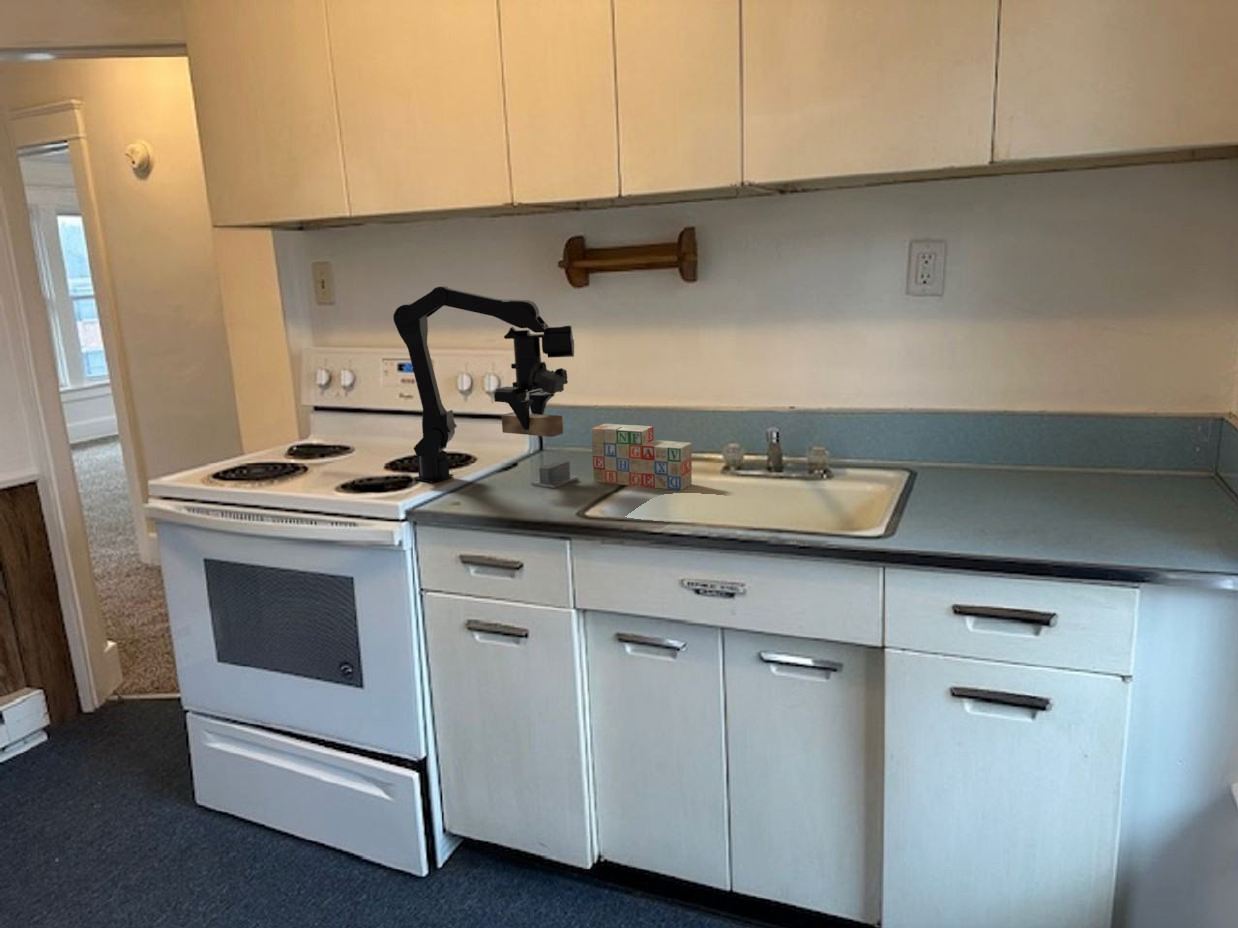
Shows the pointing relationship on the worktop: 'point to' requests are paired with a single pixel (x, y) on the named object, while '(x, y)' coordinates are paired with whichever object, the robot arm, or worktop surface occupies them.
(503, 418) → the bar
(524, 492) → the worktop surface
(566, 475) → the ridge
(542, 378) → the robot arm
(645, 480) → the stack of blocks
